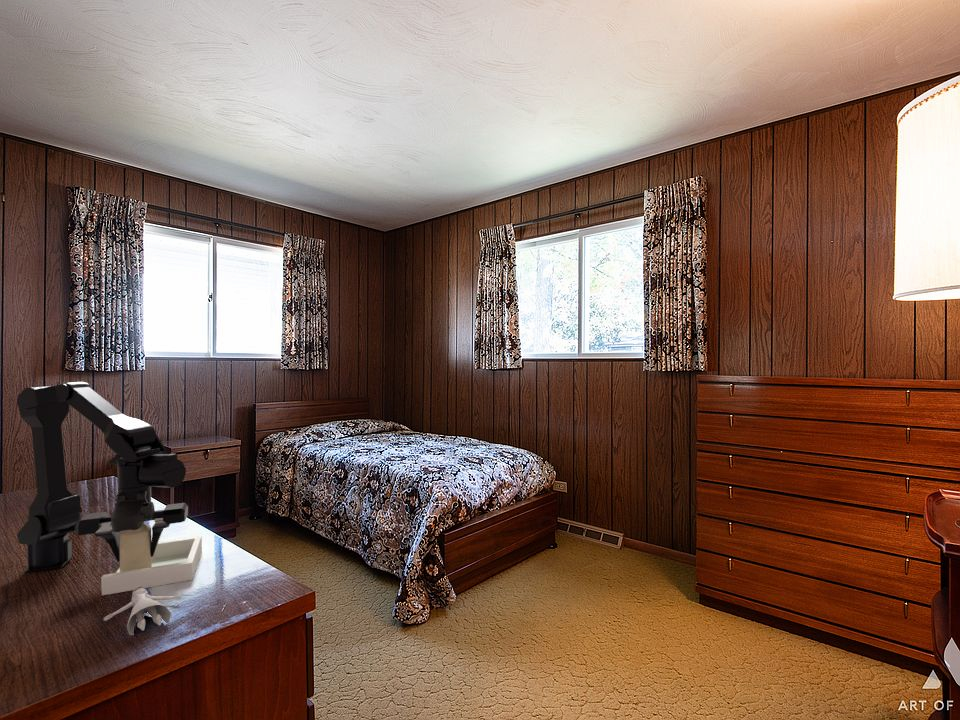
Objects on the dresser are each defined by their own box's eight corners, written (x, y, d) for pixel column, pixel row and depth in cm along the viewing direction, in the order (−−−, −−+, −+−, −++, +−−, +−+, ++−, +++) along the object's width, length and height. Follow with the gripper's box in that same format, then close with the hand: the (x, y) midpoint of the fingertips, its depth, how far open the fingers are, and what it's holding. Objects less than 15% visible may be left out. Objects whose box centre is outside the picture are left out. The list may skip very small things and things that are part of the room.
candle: (114, 573, 102) (113, 525, 102) (142, 563, 107) (142, 517, 107) (129, 578, 99) (128, 529, 99) (157, 567, 104) (156, 521, 104)
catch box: (101, 595, 94) (101, 577, 94) (124, 562, 109) (123, 547, 109) (192, 579, 100) (192, 562, 100) (201, 550, 115) (201, 536, 115)
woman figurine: (106, 624, 76) (100, 590, 90) (107, 653, 76) (100, 615, 90) (191, 599, 84) (174, 571, 97) (192, 625, 83) (174, 594, 97)
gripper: (64, 501, 92) (66, 583, 92) (180, 489, 99) (181, 565, 100) (84, 486, 102) (86, 560, 102) (187, 476, 110) (189, 545, 110)
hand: (135, 558), depth 103 cm, fingers closed on candle, 5 cm apart
